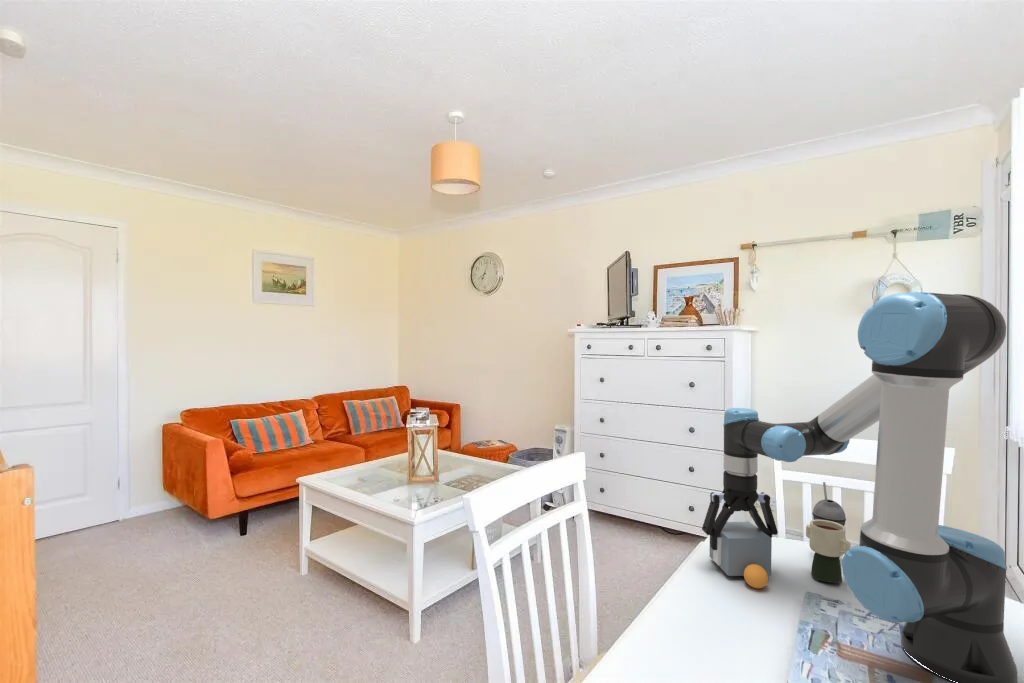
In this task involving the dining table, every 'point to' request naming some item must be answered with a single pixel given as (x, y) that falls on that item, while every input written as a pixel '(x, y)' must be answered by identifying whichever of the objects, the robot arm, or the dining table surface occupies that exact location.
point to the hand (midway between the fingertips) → (739, 562)
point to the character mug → (827, 549)
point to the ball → (755, 576)
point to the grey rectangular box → (743, 548)
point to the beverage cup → (829, 510)
